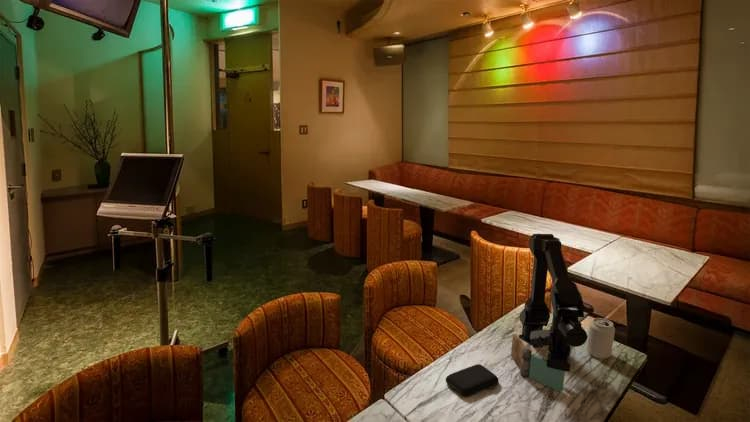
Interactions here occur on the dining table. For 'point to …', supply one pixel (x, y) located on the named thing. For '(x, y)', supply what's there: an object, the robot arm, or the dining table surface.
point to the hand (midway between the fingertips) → (556, 373)
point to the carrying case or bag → (472, 380)
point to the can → (600, 338)
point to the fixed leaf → (520, 354)
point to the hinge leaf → (544, 372)
